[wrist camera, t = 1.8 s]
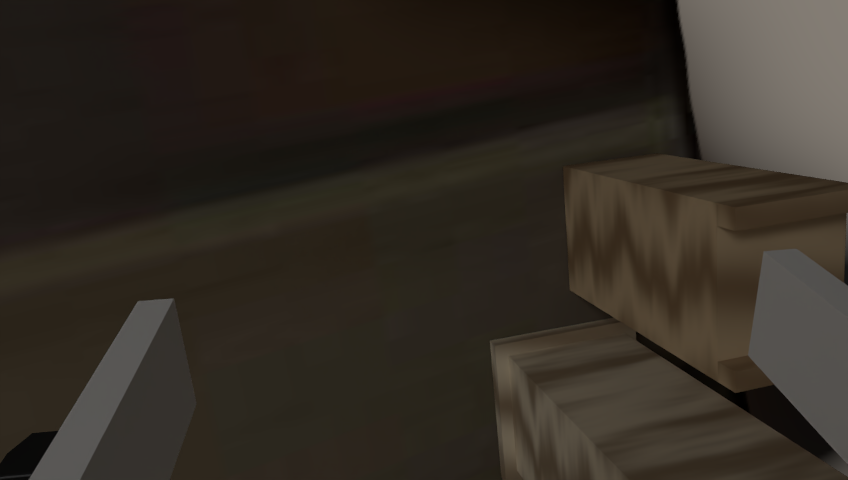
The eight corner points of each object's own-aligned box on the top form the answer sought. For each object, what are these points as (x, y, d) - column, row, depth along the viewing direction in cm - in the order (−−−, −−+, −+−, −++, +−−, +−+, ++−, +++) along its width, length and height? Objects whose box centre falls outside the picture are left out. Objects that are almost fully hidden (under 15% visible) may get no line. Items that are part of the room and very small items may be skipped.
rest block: (563, 166, 55) (735, 207, 36) (656, 153, 57) (870, 186, 37) (569, 290, 57) (735, 392, 38) (659, 274, 59) (862, 365, 40)
